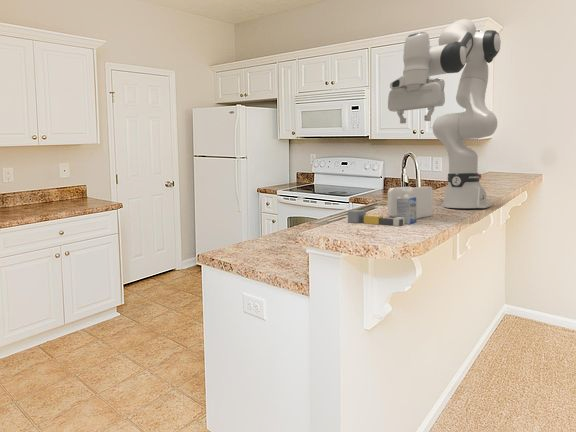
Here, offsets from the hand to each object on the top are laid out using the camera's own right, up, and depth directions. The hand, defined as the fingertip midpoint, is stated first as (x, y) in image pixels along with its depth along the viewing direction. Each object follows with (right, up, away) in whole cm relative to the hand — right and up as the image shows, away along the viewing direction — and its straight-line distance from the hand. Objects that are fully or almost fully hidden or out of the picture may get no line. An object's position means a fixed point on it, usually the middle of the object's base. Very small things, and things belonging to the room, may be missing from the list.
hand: (414, 122), depth 160 cm
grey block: (-20, -35, +3) cm, 40 cm away
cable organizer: (+2, -33, +14) cm, 36 cm away
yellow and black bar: (-13, -35, -4) cm, 38 cm away
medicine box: (-3, -35, -2) cm, 35 cm away
